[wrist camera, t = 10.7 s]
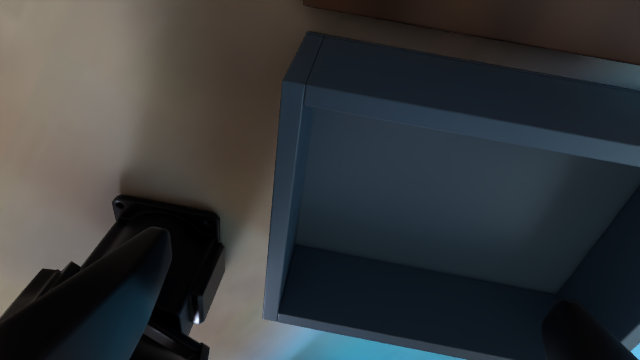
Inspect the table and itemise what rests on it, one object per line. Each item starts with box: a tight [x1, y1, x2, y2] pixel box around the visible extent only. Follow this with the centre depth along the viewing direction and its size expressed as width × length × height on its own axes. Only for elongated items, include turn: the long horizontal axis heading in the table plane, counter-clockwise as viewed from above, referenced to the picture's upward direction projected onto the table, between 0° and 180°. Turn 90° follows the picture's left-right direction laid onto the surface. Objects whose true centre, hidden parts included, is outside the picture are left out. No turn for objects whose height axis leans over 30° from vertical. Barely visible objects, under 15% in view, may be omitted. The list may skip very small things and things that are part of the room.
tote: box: [262, 31, 640, 360], centre depth 20 cm, size 18×14×5 cm
